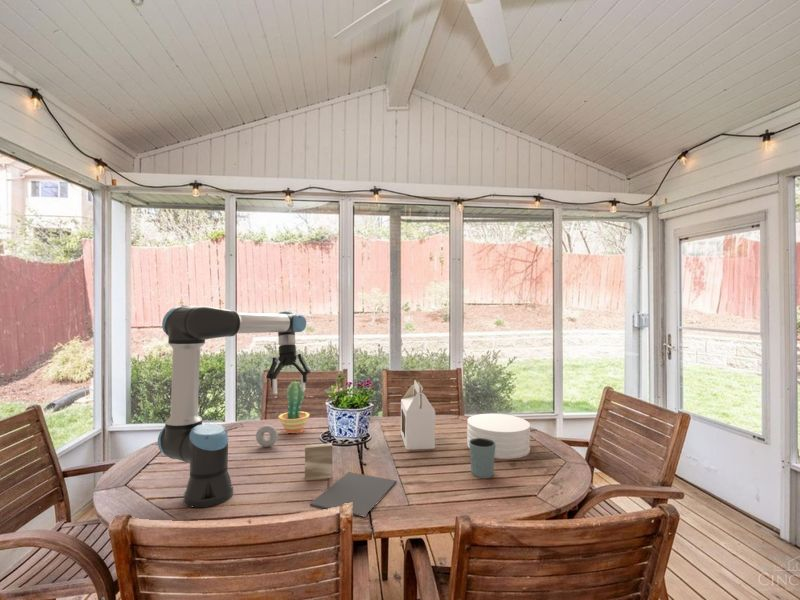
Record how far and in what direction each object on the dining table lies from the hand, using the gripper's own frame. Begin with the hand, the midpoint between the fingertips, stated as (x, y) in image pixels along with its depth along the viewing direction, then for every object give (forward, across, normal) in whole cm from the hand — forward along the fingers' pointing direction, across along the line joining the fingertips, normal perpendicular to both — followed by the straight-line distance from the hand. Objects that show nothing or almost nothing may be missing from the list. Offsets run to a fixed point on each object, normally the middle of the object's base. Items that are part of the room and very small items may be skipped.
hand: (289, 392), depth 180 cm
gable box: (+29, -50, -28) cm, 64 cm away
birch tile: (+34, -19, +18) cm, 42 cm away
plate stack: (+35, -88, -29) cm, 99 cm away
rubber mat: (+38, -36, +26) cm, 59 cm away
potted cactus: (+18, +12, -29) cm, 36 cm away
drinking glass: (+40, -80, +1) cm, 89 cm away
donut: (+23, +15, -6) cm, 28 cm away
